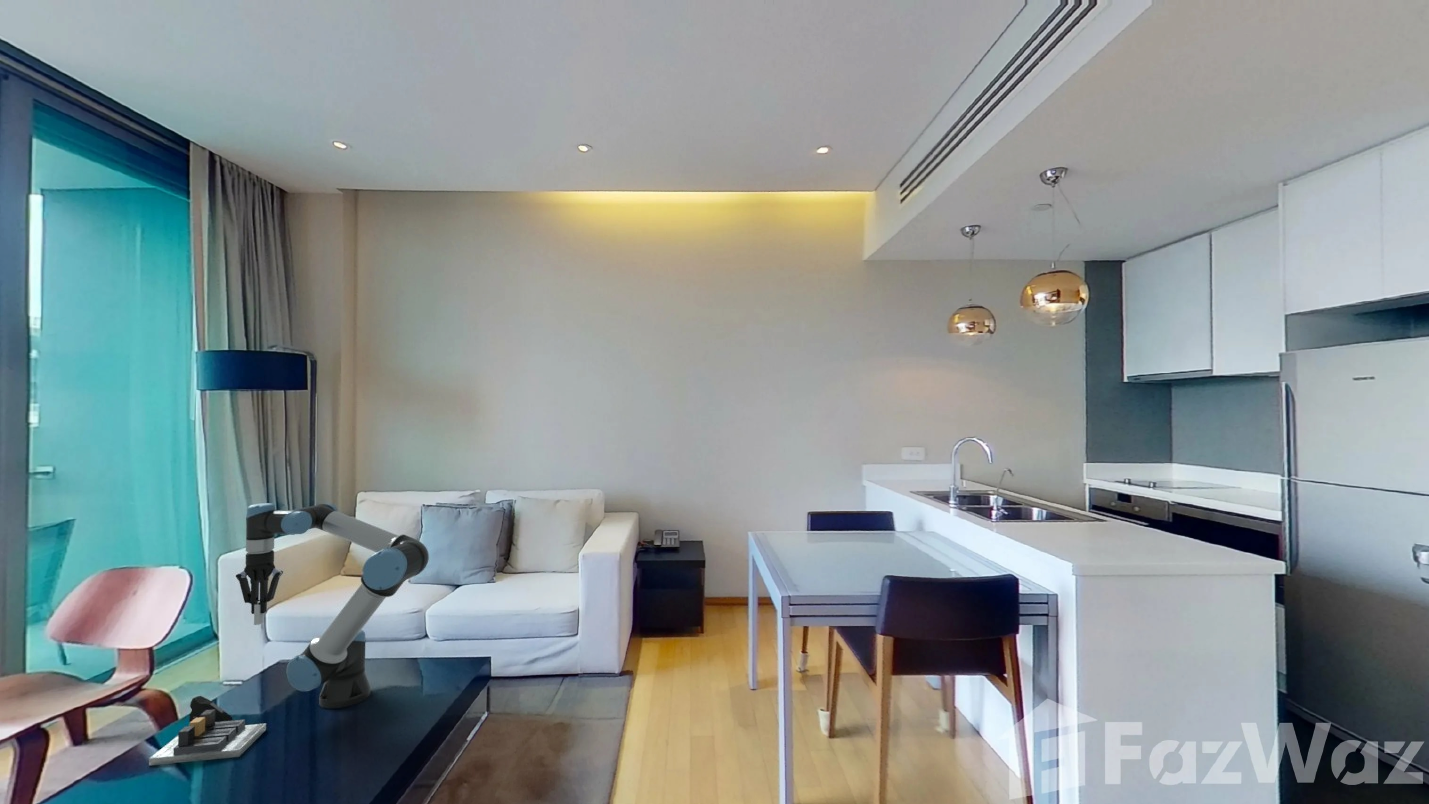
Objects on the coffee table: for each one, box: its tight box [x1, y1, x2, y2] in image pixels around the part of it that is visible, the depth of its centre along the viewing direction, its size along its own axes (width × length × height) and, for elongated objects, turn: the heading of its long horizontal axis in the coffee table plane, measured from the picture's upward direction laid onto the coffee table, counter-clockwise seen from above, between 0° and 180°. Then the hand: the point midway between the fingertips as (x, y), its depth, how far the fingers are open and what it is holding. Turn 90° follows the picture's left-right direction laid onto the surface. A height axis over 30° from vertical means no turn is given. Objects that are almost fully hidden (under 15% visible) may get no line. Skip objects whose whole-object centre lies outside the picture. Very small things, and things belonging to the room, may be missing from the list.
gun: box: [188, 695, 234, 723], centre depth 190 cm, size 3×16×10 cm, turn 79°
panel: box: [148, 709, 267, 766], centre depth 179 cm, size 22×15×8 cm
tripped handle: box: [188, 717, 205, 736], centre depth 178 cm, size 2×3×4 cm
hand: (258, 623), depth 199 cm, fingers closed
